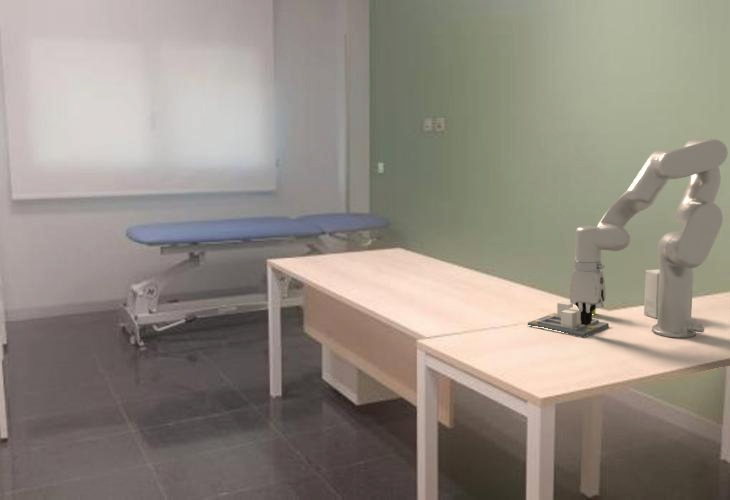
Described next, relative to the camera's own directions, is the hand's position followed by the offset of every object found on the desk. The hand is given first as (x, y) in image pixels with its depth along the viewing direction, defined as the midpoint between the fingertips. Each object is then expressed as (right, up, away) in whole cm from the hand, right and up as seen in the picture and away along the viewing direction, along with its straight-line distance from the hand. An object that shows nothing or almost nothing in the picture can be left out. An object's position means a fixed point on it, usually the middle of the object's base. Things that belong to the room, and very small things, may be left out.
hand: (586, 323), depth 213 cm
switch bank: (-3, -2, +10) cm, 11 cm away
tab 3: (-1, -1, +8) cm, 8 cm away
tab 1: (-2, 0, +16) cm, 16 cm away
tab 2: (-4, -1, +5) cm, 6 cm away
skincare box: (+32, 0, +20) cm, 37 cm away
